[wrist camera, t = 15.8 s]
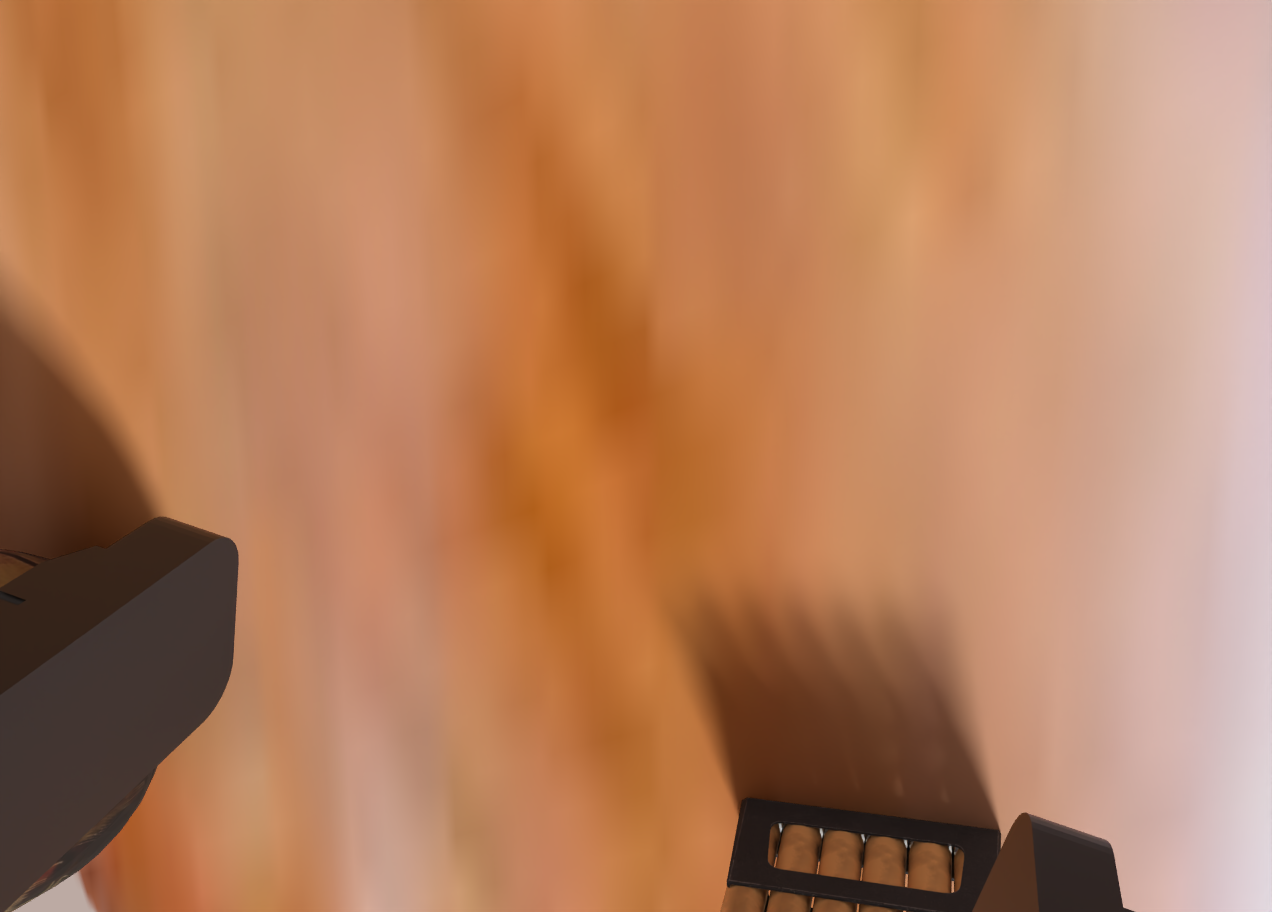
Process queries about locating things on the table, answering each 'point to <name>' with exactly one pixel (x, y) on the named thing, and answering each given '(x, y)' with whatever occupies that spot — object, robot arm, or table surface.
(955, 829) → the ammunition clip
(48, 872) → the ceramic jug
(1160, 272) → the table surface
